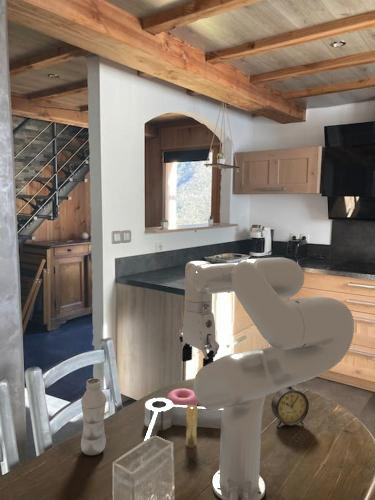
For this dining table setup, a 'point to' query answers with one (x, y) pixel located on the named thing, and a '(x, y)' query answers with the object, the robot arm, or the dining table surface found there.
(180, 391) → the doughnut
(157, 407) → the hinge
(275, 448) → the dining table surface
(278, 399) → the alarm clock
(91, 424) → the plastic bottle
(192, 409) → the hinge pin
